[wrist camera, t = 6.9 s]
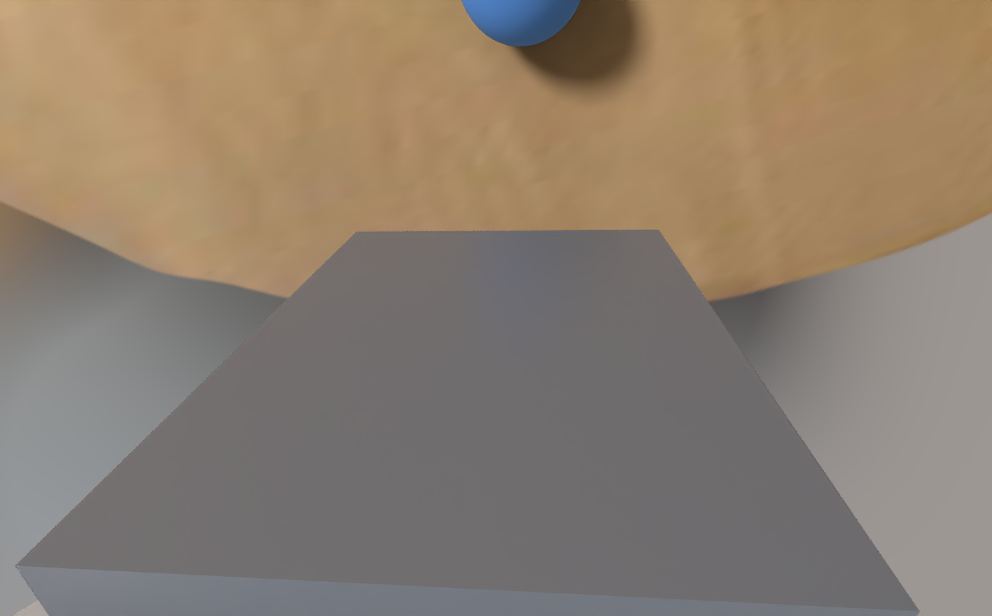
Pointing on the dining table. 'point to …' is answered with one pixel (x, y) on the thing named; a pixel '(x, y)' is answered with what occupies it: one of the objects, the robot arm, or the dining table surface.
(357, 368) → the balanced grey cube
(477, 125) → the dining table surface
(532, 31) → the ball
